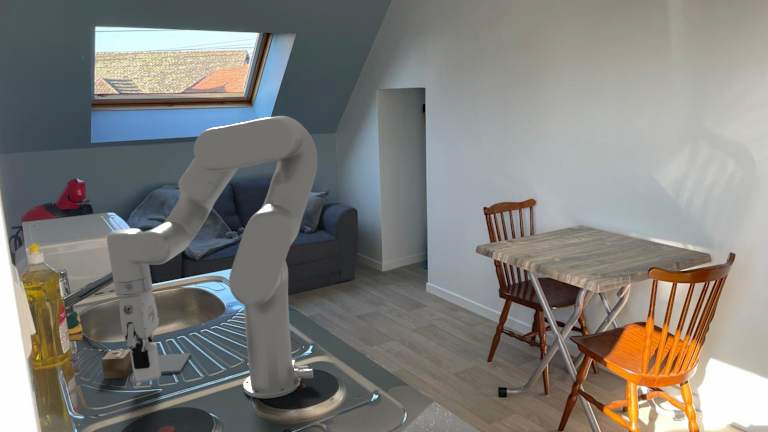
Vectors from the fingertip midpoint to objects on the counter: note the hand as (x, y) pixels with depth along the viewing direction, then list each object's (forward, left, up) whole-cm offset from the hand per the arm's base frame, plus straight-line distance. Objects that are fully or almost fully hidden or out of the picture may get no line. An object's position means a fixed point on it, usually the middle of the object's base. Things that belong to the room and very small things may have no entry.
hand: (145, 362), depth 131 cm
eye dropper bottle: (0, 0, -4) cm, 4 cm away
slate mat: (0, -12, -6) cm, 14 cm away
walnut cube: (+10, -9, -6) cm, 15 cm away
